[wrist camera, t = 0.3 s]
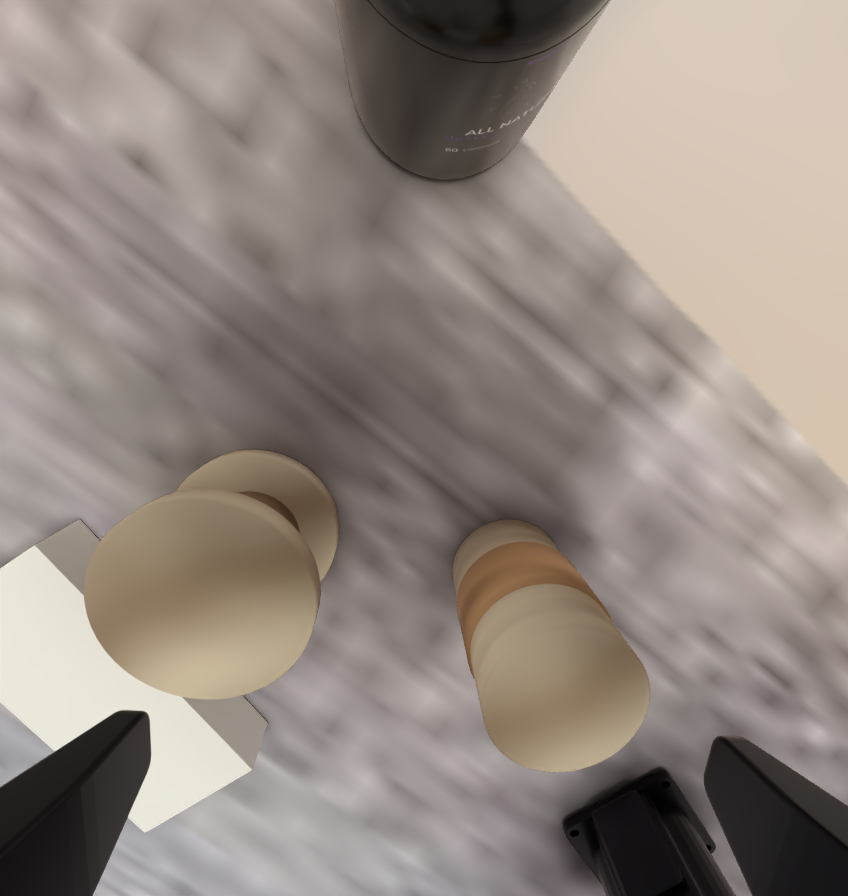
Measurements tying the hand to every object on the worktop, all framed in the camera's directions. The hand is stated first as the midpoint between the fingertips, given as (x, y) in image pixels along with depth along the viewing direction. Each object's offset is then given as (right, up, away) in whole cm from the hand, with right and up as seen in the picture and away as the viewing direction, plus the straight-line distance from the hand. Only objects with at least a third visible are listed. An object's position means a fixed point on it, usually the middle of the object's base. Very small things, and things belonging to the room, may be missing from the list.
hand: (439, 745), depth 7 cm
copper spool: (+4, -1, +14) cm, 14 cm away
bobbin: (-8, +1, +13) cm, 15 cm away
